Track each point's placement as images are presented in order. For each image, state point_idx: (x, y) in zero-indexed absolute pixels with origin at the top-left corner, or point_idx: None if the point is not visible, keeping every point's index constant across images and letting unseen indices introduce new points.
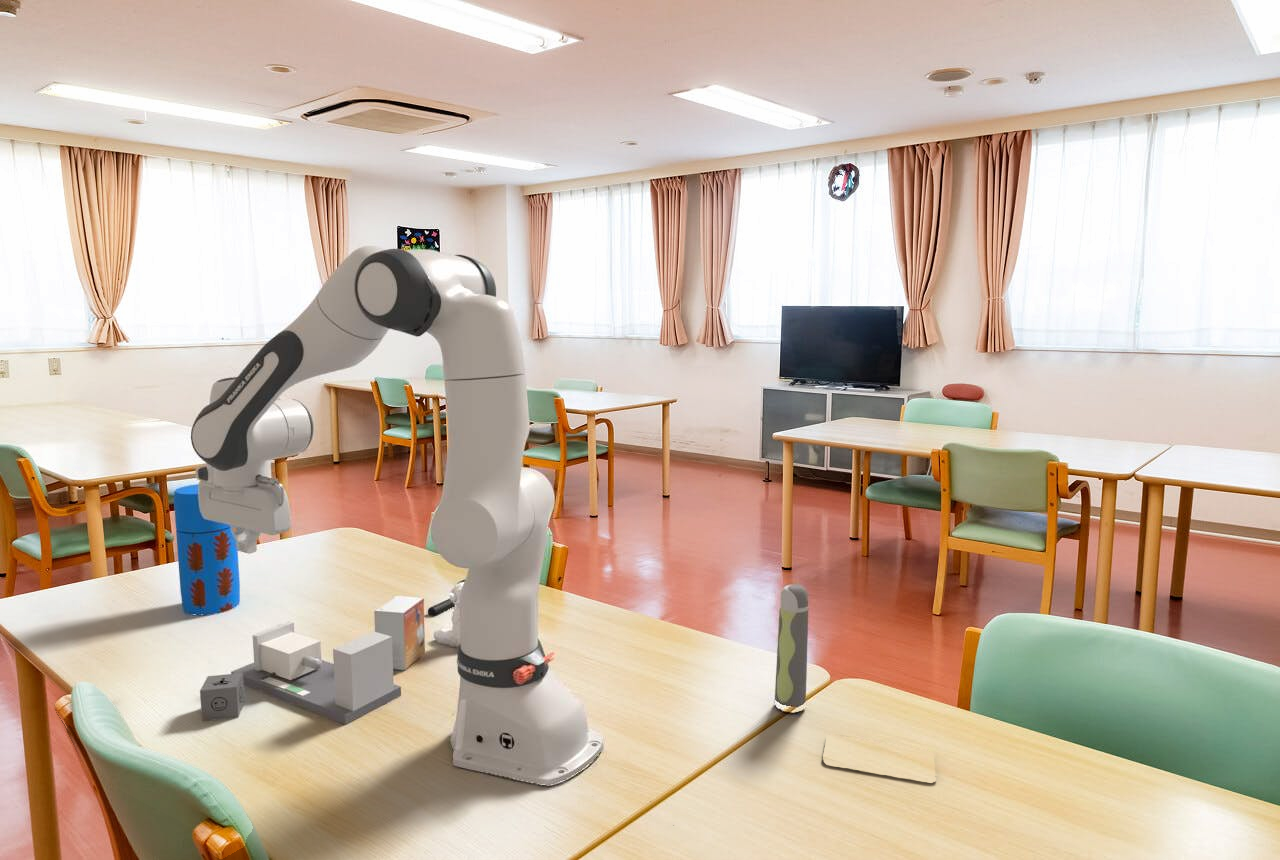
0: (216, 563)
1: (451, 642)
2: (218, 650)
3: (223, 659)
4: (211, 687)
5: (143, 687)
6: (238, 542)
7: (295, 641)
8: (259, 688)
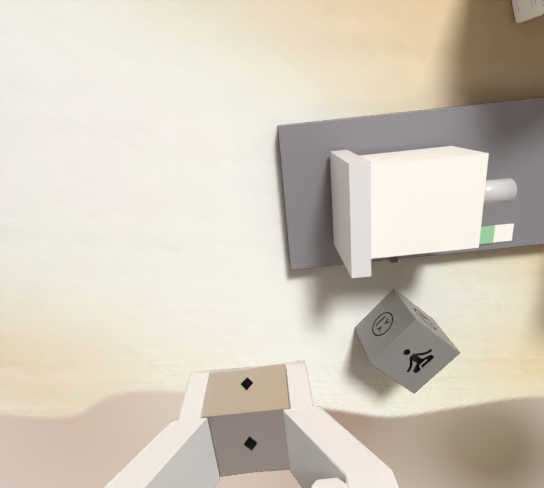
0: None
1: None
2: (117, 208)
3: (176, 225)
4: (420, 378)
5: (194, 362)
6: (218, 472)
7: (429, 196)
8: None
